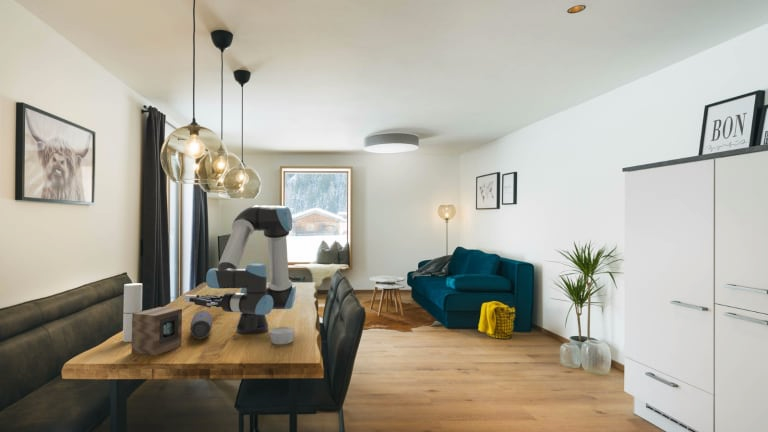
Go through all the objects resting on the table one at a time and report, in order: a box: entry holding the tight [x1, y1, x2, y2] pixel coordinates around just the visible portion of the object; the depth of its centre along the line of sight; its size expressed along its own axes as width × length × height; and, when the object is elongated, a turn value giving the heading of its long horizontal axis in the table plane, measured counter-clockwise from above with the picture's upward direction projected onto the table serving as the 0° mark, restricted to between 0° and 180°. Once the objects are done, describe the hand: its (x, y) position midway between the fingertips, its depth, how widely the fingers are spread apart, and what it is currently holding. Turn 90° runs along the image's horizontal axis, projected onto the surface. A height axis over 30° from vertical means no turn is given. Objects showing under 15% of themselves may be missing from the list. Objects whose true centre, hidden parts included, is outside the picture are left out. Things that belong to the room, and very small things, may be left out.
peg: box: [164, 323, 174, 335], centre depth 174 cm, size 12×5×5 cm, turn 74°
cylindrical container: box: [122, 282, 143, 343], centre depth 188 cm, size 7×7×25 cm
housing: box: [131, 306, 183, 357], centre depth 174 cm, size 12×14×16 cm
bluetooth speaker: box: [190, 309, 213, 339], centre depth 196 cm, size 23×9×10 cm, turn 22°
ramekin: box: [268, 326, 296, 345], centre depth 187 cm, size 11×11×5 cm
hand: (185, 298), depth 169 cm, fingers closed
